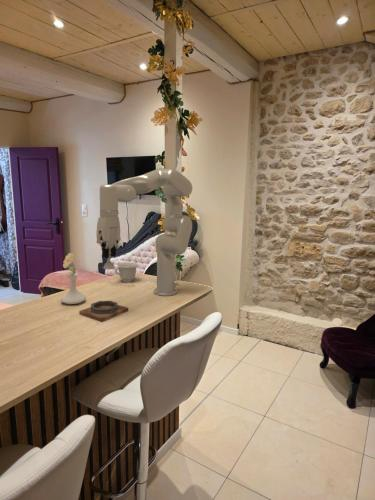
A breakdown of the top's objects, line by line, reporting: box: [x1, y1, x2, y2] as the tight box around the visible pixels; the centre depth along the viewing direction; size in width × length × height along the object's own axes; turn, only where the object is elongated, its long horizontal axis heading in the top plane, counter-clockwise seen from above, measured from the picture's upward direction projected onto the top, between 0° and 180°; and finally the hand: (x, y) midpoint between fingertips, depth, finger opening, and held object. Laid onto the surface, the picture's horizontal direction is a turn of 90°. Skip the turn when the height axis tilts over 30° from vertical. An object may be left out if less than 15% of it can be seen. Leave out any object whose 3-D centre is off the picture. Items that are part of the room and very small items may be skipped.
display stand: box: [78, 300, 129, 323], centre depth 148 cm, size 16×14×4 cm
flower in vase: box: [60, 252, 87, 305], centre depth 158 cm, size 13×11×25 cm
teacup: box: [114, 262, 139, 283], centre depth 197 cm, size 12×15×10 cm
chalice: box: [102, 227, 118, 270], centre depth 144 cm, size 7×7×18 cm
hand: (109, 256), depth 145 cm, fingers closed on chalice, 3 cm apart
